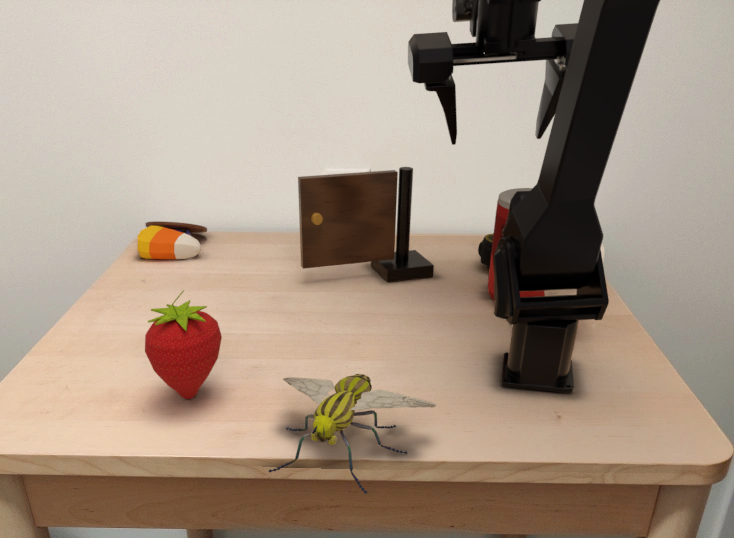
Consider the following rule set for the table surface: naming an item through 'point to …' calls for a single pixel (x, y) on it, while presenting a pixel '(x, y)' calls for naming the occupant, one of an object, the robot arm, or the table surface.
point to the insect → (346, 408)
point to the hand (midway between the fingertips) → (495, 140)
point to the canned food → (499, 225)
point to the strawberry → (183, 346)
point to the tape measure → (486, 250)
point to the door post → (404, 240)
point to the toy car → (179, 227)
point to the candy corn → (166, 244)
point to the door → (347, 218)
